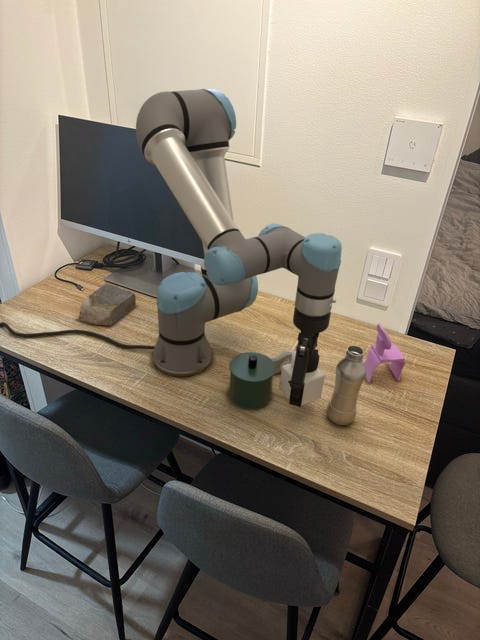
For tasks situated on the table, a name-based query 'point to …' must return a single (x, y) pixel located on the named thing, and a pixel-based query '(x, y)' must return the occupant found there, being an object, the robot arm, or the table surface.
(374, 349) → the toy chair
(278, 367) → the lattice window wall
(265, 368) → the pot lid
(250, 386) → the pot
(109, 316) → the geological specimen
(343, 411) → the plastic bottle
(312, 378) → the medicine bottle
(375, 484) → the table surface
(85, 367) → the table surface
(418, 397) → the table surface
